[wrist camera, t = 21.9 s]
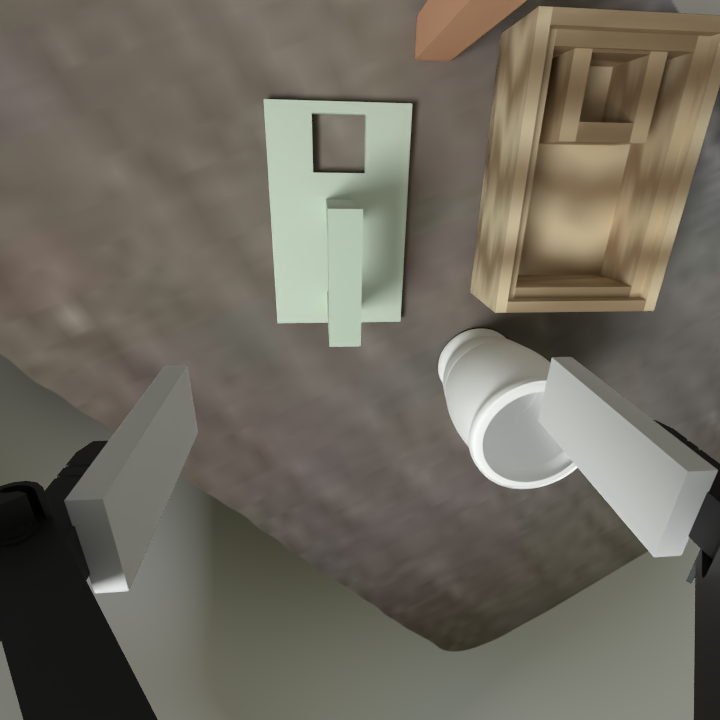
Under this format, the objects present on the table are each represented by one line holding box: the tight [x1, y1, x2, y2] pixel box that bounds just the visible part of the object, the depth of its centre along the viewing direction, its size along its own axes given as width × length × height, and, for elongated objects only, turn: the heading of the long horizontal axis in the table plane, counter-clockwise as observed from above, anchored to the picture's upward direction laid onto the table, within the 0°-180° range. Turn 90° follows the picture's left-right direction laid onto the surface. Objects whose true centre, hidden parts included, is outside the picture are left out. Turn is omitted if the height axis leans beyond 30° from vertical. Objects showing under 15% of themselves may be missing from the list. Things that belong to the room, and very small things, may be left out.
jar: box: [438, 328, 577, 489], centre depth 42 cm, size 11×10×15 cm
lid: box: [264, 99, 412, 347], centre depth 37 cm, size 19×12×10 cm, turn 179°
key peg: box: [415, 0, 527, 61], centre depth 30 cm, size 3×3×15 cm
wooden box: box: [470, 6, 720, 313], centre depth 39 cm, size 22×15×7 cm
